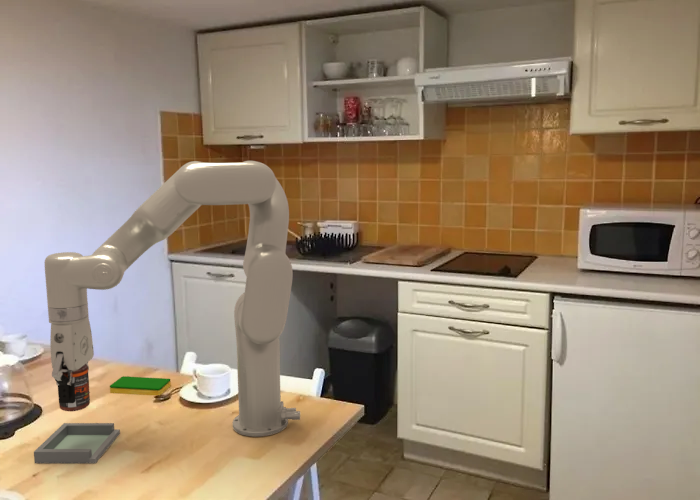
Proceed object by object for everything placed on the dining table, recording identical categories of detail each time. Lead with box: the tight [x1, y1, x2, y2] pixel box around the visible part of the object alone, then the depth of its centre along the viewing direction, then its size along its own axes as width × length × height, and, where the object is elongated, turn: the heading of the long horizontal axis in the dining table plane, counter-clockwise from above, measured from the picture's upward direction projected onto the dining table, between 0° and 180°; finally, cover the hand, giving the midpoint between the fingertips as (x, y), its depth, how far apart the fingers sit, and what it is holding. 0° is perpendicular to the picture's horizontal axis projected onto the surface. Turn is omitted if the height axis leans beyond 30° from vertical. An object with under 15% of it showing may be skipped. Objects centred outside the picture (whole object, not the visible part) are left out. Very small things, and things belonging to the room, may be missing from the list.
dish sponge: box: [109, 375, 172, 396], centre depth 167 cm, size 7×14×2 cm, turn 82°
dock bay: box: [33, 422, 121, 464], centre depth 135 cm, size 12×13×2 cm
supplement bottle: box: [58, 364, 91, 412], centre depth 133 cm, size 6×6×11 cm
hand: (74, 395), depth 133 cm, fingers closed on supplement bottle, 6 cm apart
